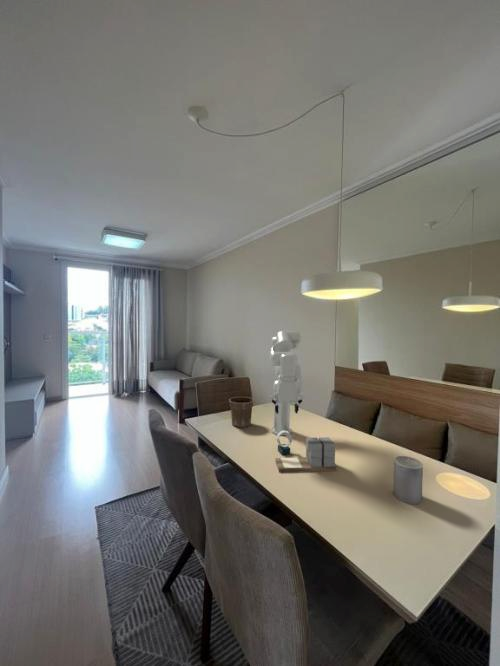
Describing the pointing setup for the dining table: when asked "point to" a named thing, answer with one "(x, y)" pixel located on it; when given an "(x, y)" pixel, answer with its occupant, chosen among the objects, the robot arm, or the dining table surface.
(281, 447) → the watch
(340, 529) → the dining table surface
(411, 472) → the pillar candle
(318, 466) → the wood and grey tray
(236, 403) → the plant pot
